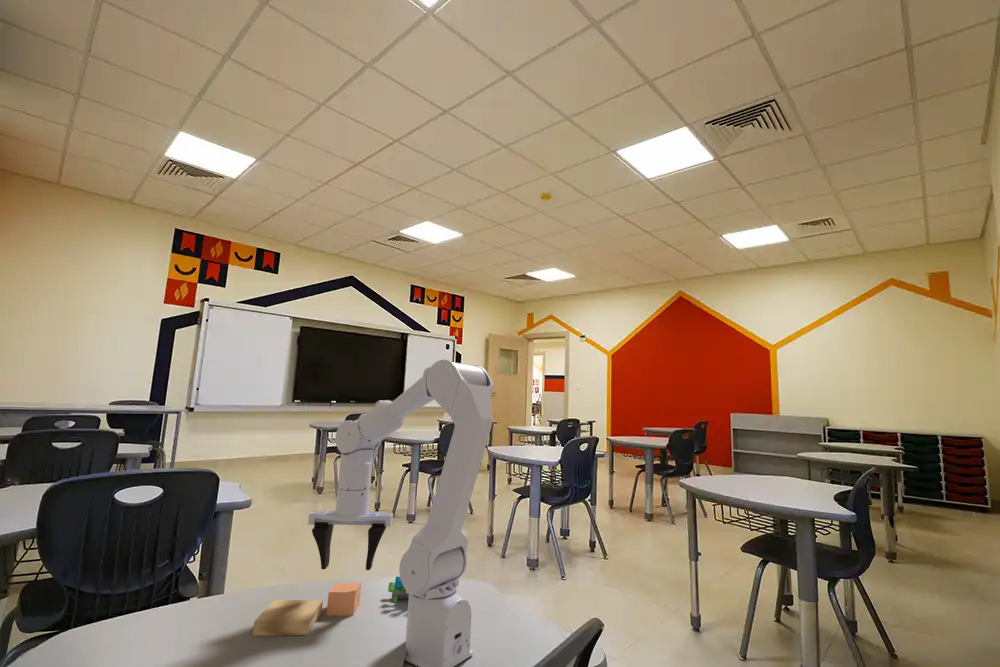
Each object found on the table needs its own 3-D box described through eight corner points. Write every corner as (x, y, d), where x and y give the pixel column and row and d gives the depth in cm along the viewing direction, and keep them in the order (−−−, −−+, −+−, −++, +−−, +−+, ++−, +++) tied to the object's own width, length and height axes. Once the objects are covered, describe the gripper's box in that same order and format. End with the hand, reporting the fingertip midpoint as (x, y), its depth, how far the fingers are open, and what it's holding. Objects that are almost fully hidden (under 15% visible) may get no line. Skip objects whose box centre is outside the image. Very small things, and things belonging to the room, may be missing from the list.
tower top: (321, 612, 78) (322, 599, 79) (306, 634, 70) (308, 620, 71) (273, 613, 78) (274, 600, 78) (252, 635, 70) (254, 621, 70)
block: (358, 613, 82) (361, 582, 83) (352, 624, 78) (355, 592, 79) (333, 612, 82) (336, 582, 83) (325, 624, 77) (328, 592, 78)
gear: (452, 590, 90) (441, 563, 84) (450, 623, 85) (438, 596, 79) (397, 594, 90) (383, 568, 85) (391, 627, 86) (376, 601, 80)
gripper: (397, 485, 88) (391, 561, 86) (320, 483, 87) (312, 559, 85) (391, 492, 81) (385, 574, 79) (307, 489, 80) (298, 573, 78)
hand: (346, 567), depth 81 cm, fingers open, 7 cm apart
